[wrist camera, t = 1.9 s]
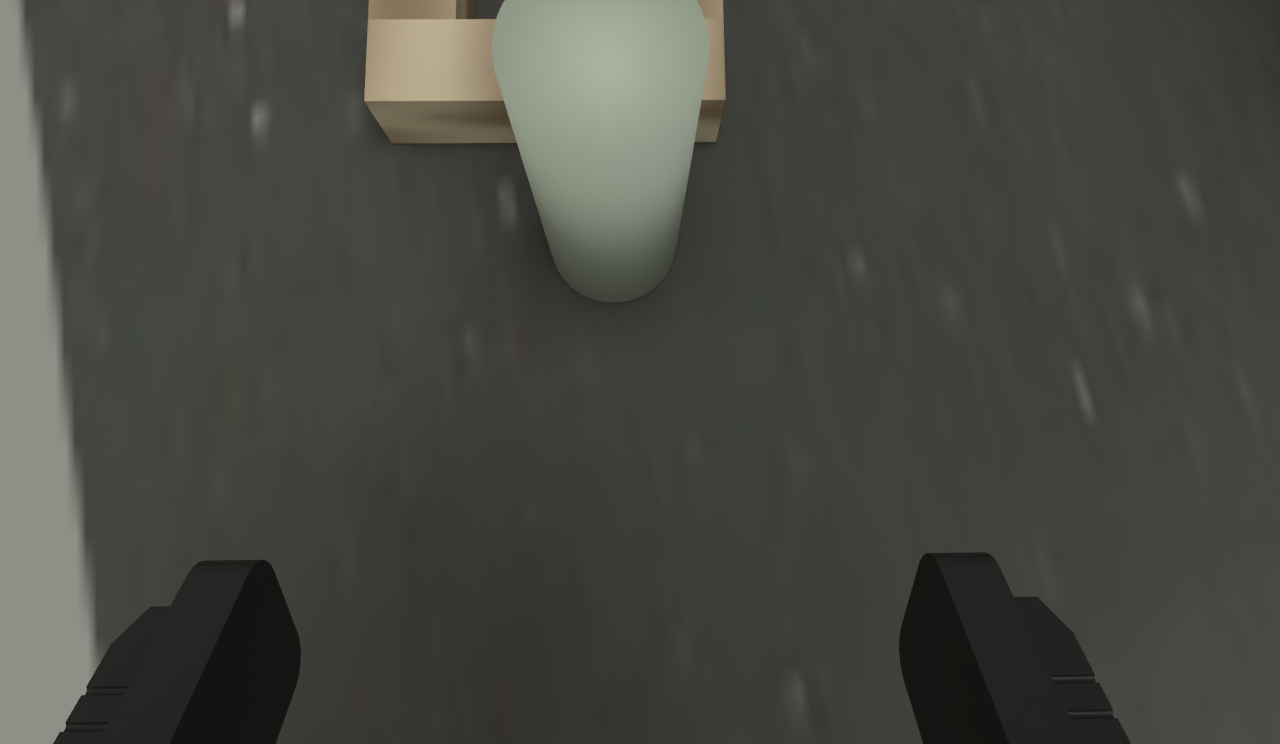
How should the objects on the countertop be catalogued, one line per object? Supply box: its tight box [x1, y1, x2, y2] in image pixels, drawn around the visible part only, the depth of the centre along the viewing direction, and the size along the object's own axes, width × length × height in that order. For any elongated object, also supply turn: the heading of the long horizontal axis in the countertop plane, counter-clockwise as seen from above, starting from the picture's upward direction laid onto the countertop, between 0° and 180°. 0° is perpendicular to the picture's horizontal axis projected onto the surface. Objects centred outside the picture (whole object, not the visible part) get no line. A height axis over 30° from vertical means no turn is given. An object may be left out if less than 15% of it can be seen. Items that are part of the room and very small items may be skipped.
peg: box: [492, 0, 709, 303], centre depth 22 cm, size 4×4×12 cm
